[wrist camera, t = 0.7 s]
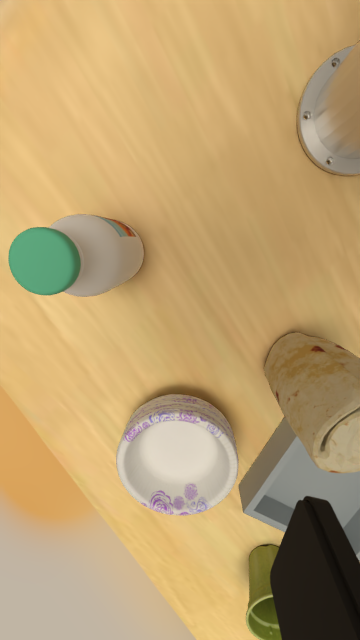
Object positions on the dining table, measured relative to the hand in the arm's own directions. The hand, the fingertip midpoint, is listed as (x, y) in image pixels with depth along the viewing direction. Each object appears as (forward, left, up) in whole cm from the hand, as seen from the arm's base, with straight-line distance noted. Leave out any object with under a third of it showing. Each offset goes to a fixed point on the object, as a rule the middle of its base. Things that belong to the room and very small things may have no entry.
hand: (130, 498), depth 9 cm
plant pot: (+32, +32, -34) cm, 56 cm away
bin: (+13, +30, -33) cm, 46 cm away
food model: (0, +17, -34) cm, 38 cm away
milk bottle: (-1, -10, -34) cm, 35 cm away
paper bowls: (+18, +9, -34) cm, 39 cm away
